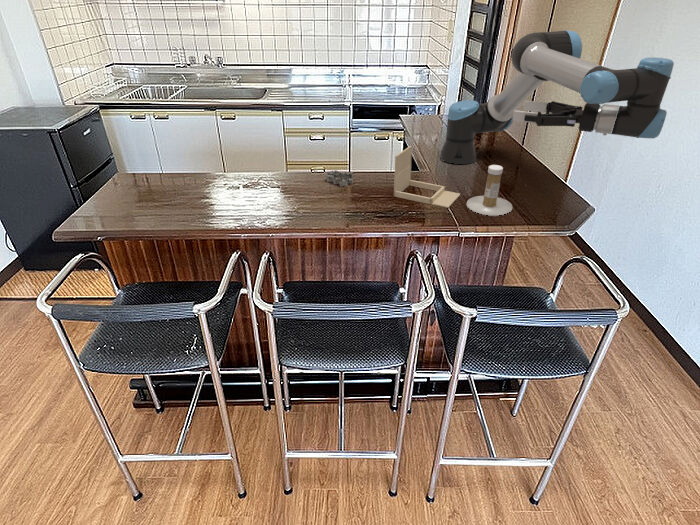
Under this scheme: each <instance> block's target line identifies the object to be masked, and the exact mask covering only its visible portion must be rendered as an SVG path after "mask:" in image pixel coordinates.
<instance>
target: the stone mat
mask: <svg viewBox="0 0 700 525" xmlns="http://www.w3.org/2000/svg"><path fill="white" fill-rule="evenodd" d="M483 201H484V195H477V196H473V197H470V198H469V199H468V200H467V201H466V207H467V209H468V208H469V209H468V210H469V211H471V210H472V211H471V212H473V213H475V212H476V213H475V214H477V213H479V214H478V215H481V214H482V216H486V215H488V216H487V217H500V216H499V215H502V216H505V215H504V214H506V215H508V214H510V213H511V212H512V211H513V204H512V203H511V202H510V201H508V200H506V199H504V198H502V197H499V196H498V197H497V201H496V206H494V207H487V206H485V205H483ZM509 212H510V213H509ZM507 213H508V214H507Z"/></svg>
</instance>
